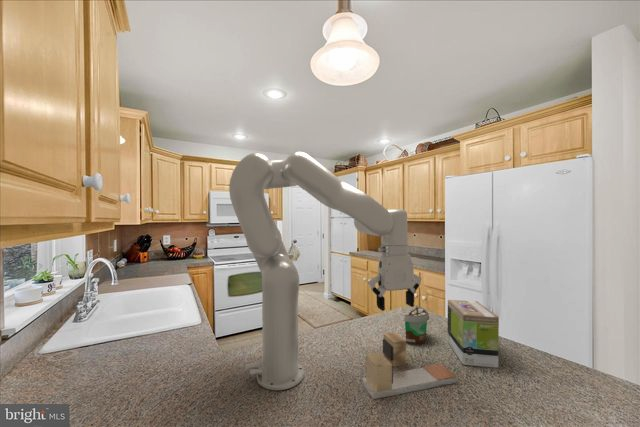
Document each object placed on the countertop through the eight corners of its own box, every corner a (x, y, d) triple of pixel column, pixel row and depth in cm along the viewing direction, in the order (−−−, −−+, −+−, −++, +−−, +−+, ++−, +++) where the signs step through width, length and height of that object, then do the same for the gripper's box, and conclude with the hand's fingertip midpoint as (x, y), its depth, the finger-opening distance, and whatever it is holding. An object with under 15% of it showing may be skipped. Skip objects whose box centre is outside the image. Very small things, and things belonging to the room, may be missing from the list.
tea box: (500, 368, 77) (500, 316, 77) (462, 365, 79) (462, 314, 79) (478, 343, 92) (477, 299, 92) (446, 341, 93) (446, 298, 93)
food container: (423, 350, 87) (423, 319, 87) (404, 344, 91) (404, 314, 91) (433, 336, 97) (433, 308, 97) (416, 331, 101) (416, 305, 101)
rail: (373, 399, 64) (372, 367, 64) (362, 383, 70) (362, 354, 70) (457, 382, 71) (457, 353, 71) (441, 369, 76) (441, 343, 76)
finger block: (391, 367, 78) (392, 342, 78) (381, 356, 84) (381, 333, 84) (406, 364, 79) (406, 340, 79) (395, 354, 85) (395, 332, 85)
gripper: (374, 253, 76) (375, 315, 76) (427, 250, 80) (428, 308, 80) (362, 250, 83) (363, 306, 83) (412, 247, 87) (413, 300, 87)
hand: (395, 307), depth 82 cm, fingers open, 9 cm apart
